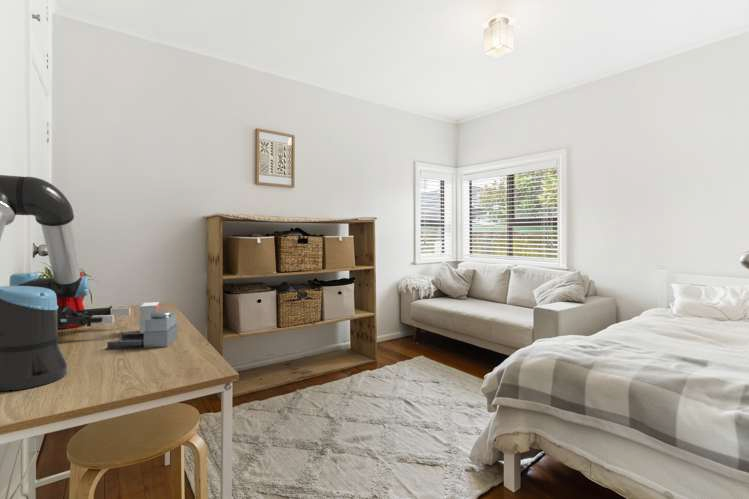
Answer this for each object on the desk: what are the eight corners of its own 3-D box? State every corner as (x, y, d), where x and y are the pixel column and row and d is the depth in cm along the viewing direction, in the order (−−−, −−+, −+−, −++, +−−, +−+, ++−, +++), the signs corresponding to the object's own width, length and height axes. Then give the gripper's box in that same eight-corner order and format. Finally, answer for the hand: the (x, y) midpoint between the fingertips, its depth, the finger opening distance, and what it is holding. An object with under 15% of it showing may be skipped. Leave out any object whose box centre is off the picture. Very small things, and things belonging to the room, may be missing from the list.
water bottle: (76, 321, 157) (75, 261, 156) (89, 325, 152) (88, 262, 151) (48, 326, 149) (47, 262, 148) (60, 330, 144) (59, 263, 143)
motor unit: (167, 346, 125) (167, 315, 124) (107, 349, 121) (106, 317, 121) (177, 337, 136) (177, 309, 135) (122, 339, 132) (122, 310, 132)
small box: (157, 333, 141) (156, 305, 140) (139, 335, 139) (139, 306, 138) (160, 328, 148) (160, 301, 148) (143, 329, 146) (143, 302, 146)
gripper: (75, 319, 149) (135, 317, 154) (32, 336, 125) (105, 333, 129) (75, 300, 149) (135, 299, 153) (32, 313, 125) (105, 311, 129)
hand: (122, 315), depth 141 cm, fingers open, 13 cm apart
